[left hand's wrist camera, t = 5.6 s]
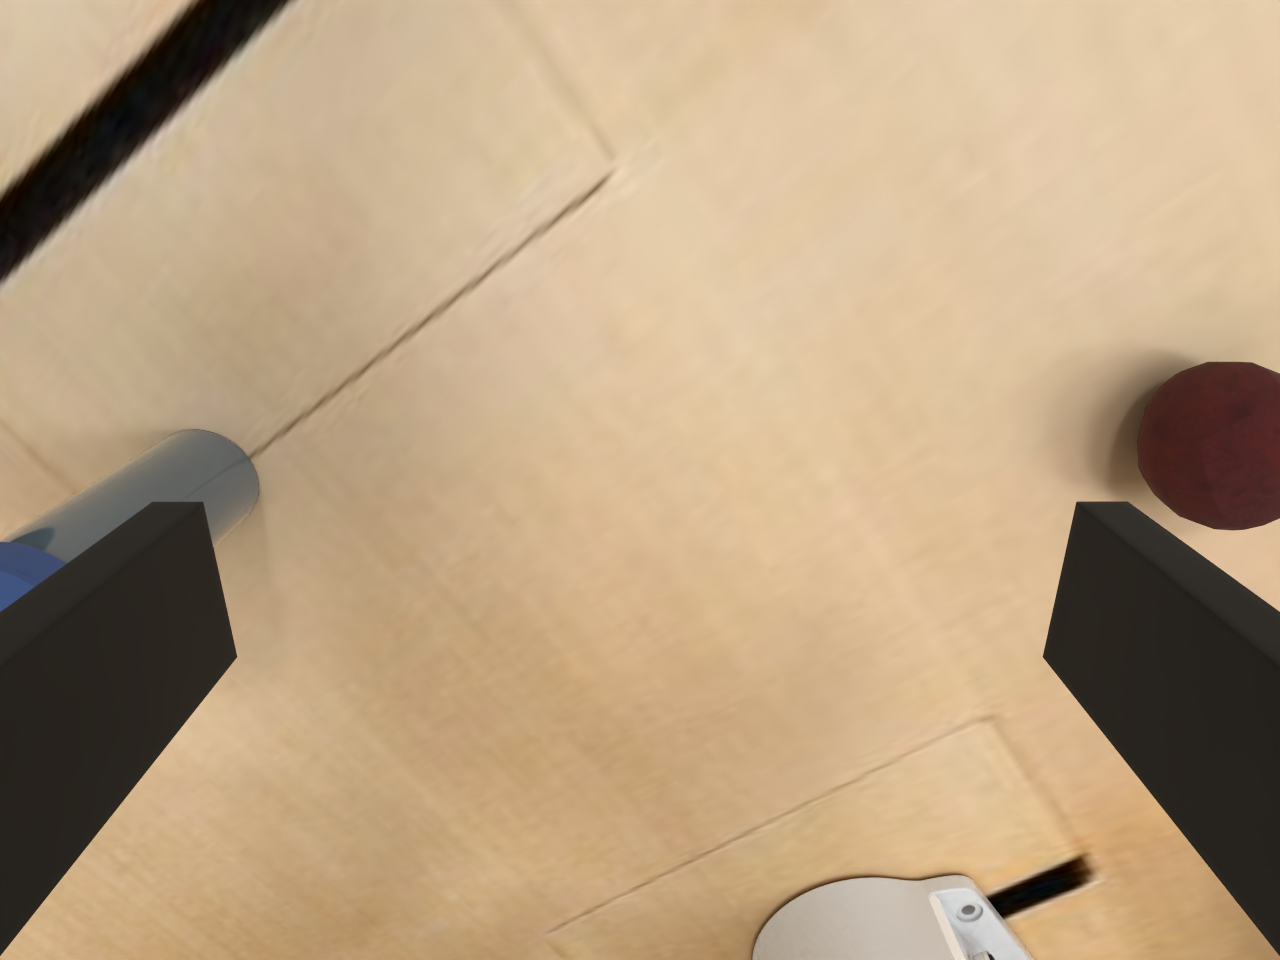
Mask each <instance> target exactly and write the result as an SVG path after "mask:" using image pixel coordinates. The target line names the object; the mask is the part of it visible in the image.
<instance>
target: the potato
mask: <svg viewBox="0 0 1280 960" xmlns="http://www.w3.org/2000/svg"><path fill="white" fill-rule="evenodd" d="M1137 449H1138V465H1139V469H1140V471H1141V473H1142V475H1143V477H1144V479H1145V480H1146V482H1147V484H1148V485H1149V487H1150V488H1151V490H1152V492H1153V493H1154V495H1156V496H1157V497H1158V498H1159V499H1160V500H1161V501H1162V502H1163V503H1164V504H1165V505H1167V506H1168V507H1169V508H1170V509H1171V510H1172V511H1174V512H1175V513H1176V514H1177V515H1178V516H1180V517H1183V518H1186V519H1188V520H1191V521H1194V522H1196V523H1199V524H1202V525H1204V526H1207V527H1210V528H1213V529H1222V530H1244V529H1249V528H1253V527H1258V526H1262V525H1265V524H1268V523H1270V522H1272V521H1275V520H1277V519H1279V518H1280V374H1279V373H1277V372H1274V371H1272V370H1269V369H1267V368H1264V367H1262V366H1259V365H1257V364H1254V363H1249V362H1206V363H1204V364H1201V365H1198V366H1195V367H1192V368H1189V369H1187V370H1184V371H1181V372H1179V373H1177V374H1176V375H1175V376H1173V377H1172V378H1171V379H1170V380H1168V381H1167V382H1166V383H1165V384H1164V385H1162V386H1161V387H1160V388H1159V389H1158V390H1157V392H1156V393H1155V395H1154V396H1153V398H1152V399H1151V401H1150V402H1149V404H1148V405H1147V407H1146V411H1145V414H1144V417H1143V421H1142V424H1141V427H1140V431H1139V435H1138V439H1137Z"/></svg>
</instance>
